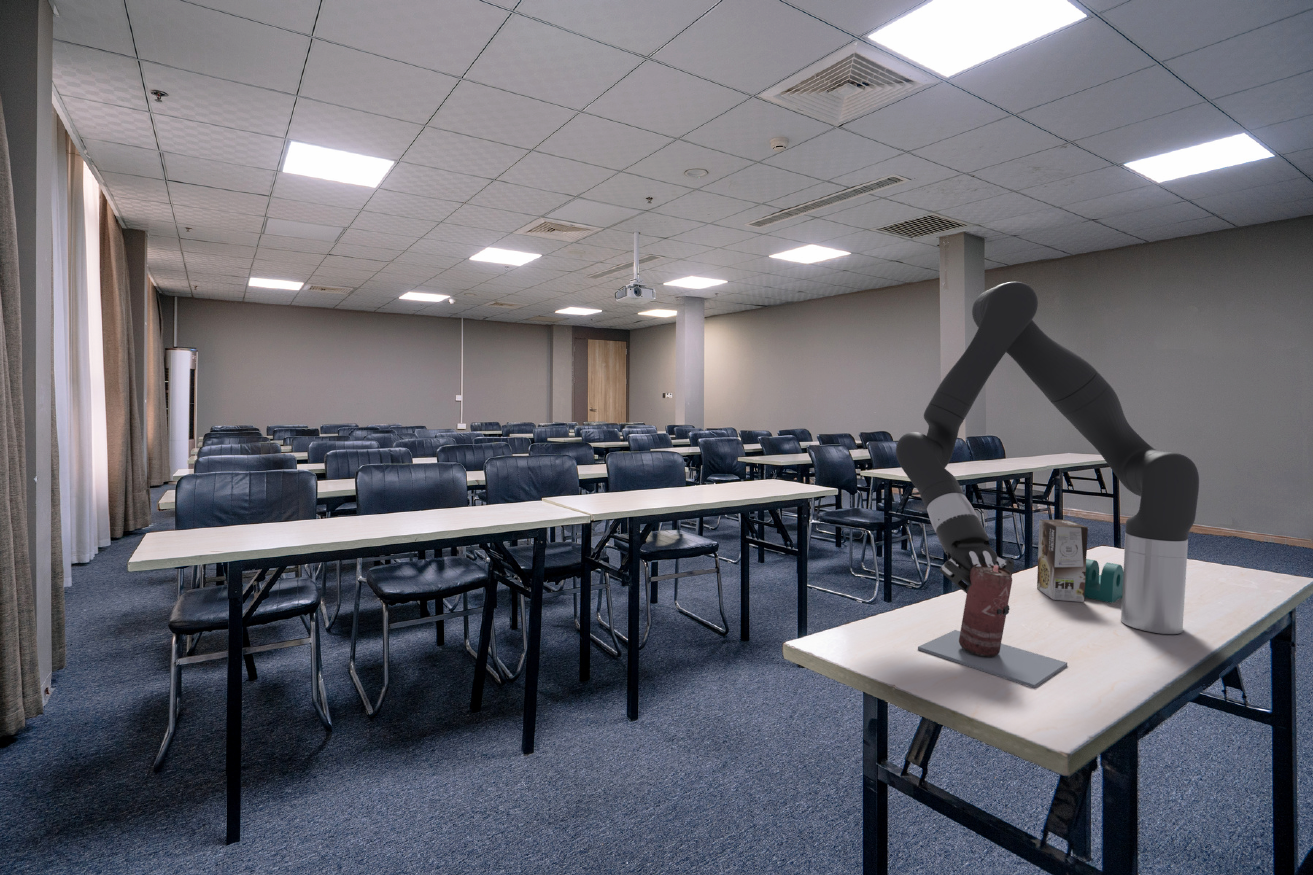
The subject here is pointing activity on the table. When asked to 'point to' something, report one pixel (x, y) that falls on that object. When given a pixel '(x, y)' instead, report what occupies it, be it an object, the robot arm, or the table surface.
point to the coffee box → (1062, 559)
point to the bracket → (1103, 581)
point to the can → (985, 610)
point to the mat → (997, 660)
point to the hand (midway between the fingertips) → (1000, 615)
